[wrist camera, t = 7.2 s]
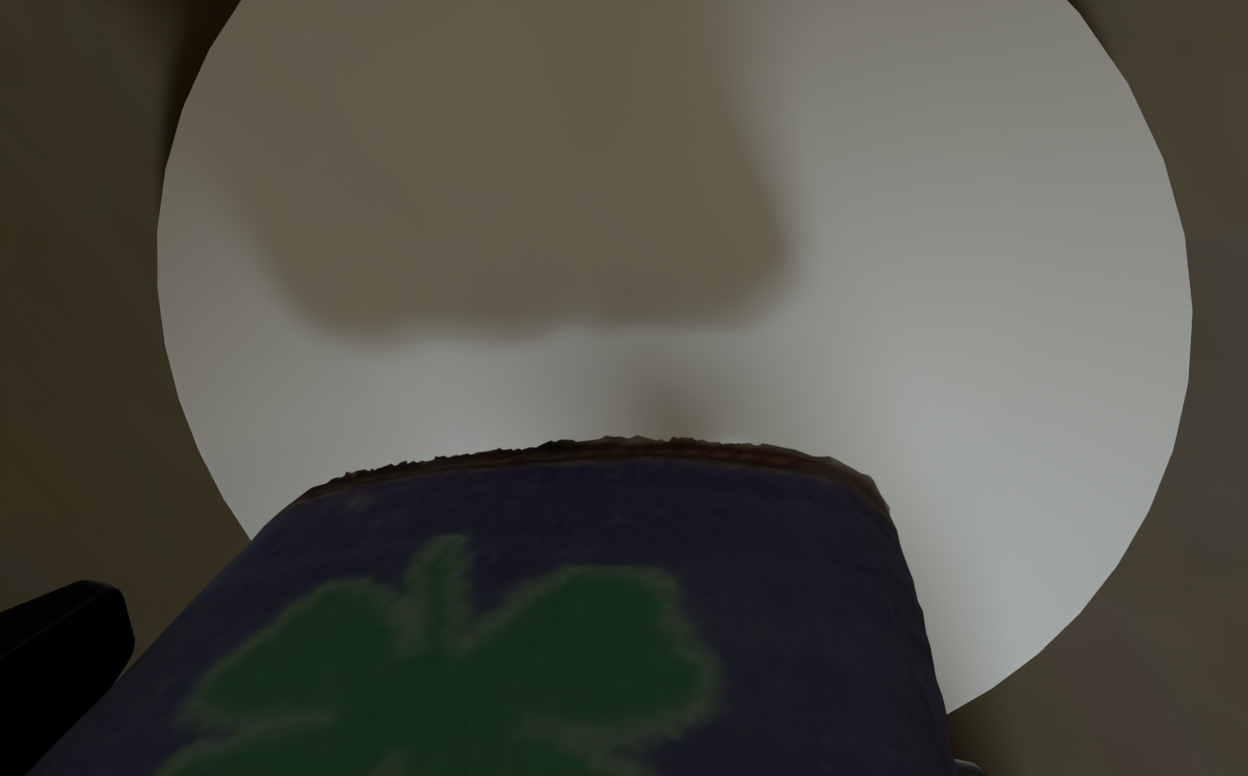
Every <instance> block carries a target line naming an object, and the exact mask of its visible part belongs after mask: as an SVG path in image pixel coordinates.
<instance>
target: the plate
mask: <svg viewBox="0 0 1248 776" xmlns="http://www.w3.org/2000/svg"><path fill="white" fill-rule="evenodd" d="M157 244H158V295H159V303H160V310H161V318H162V325H163V333H164V340H165V347H166V351H167V355H168V358H169V362H170V366H171V370H172V374H173V378H174V382H175V385H176V389H177V393H178V397H179V400H180V403H181V406H182V408H183V411H184V413H185V416H186V419H187V421H188V424H189V426H190V429H191V432H192V434H193V437H194V439H195V442H196V445H197V447H198V450H199V452H200V454H201V456H202V458H203V460H204V462H205V464H206V465H207V467H208V469H209V471H210V473H211V475H212V477H213V479H214V481H215V483H216V485H217V487H218V489H219V491H220V493H221V495H222V496H223V498H224V500H225V501H226V503H227V504H228V506H229V507H230V509H231V510H232V512H233V514H234V515H235V517H236V518H237V520H238V521H239V523H240V524H241V526H242V527H243V529H244V530H245V532H246V533H247V535H248V536H249V538H250V539H251V540H252V539H253V538H254V537H255V536H256V535H257V533H258V532H259V531H260V530H261V529H262V528H263V527H264V525H266V524H267V523H268V522H269V521H270V520H271V519H272V518H273V517H274V516H275V515H277V514H278V513H279V512H280V511H281V510H282V509H284V508H285V507H286V506H287V505H289V504H290V503H292V502H293V501H294V500H296V499H297V498H298V497H299V496H301V495H302V494H303V493H305V492H306V491H307V490H309V489H310V488H311V487H315V486H318V485H322V484H326V483H327V482H329V481H330V480H331V479H333V478H336V477H340V478H341V477H343V476H344V475H345V473H346V472H350V473H353V472H355V471H358V470H363V469H366V470H369V471H370V470H371V468H372V469H374V470H376V469H377V468H381V467H384V466H386V465H389V464H391V463H392V464H393V465H398V463H400V462H403V461H406V460H407V464H408V463H410V462H412V461H415V462H419V461H422V460H423V461H430V460H434V458H435V456H437V457H440V456H446V457H451V456H454V455H456V454H457V455H458V456H459V455H462V454H466V453H468V454H471V455H472V454H474V453H476V452H485V451H490V450H495V449H498V447H499V448H501V449H503V450H505V449H512V450H515V449H517V448H519V449H521V450H523V449H525V448H528V447H534V448H536V447H538V446H539V445H541V444H544V443H546V442H548V441H554V442H556V441H558V440H560V439H568V440H574V441H576V442H579V441H587V440H596V439H600V438H602V437H604V436H606V435H607V436H612V437H618V436H621V437H625V438H628V439H629V438H631V437H634V436H636V435H639V436H642V437H646V438H650V439H653V440H660V439H663V441H667V442H669V440H670V439H671V438H672V437H676V438H680V437H686V438H693V439H695V440H696V441H697V440H702V439H703V440H705V441H708V442H720V443H721V444H724V443H734V444H737V443H740V444H744V443H751V444H753V445H755V446H756V445H760V444H762V443H764V444H770V445H774V446H779V447H784V448H790V449H795V450H798V451H800V452H803V453H806V454H808V455H811V456H831V457H832V458H834V459H836V460H838V461H840V462H842V463H844V464H846V465H847V466H849V467H851V468H853V469H855V470H857V471H858V472H860V473H862V474H866V475H869V476H870V477H871V478H872V479H873V480H874V481H875V484H876V486H877V488H878V490H879V492H880V494H881V496H882V497H883V498H884V500H885V501H886V503H887V504H888V506H889V507H890V516H891V518H892V520H893V523H894V525H895V527H896V529H897V532H898V536H899V541H900V545H901V548H902V551H903V554H904V557H905V559H906V562H907V565H908V567H909V570H910V573H911V575H912V578H913V581H914V585H915V590H916V595H917V599H918V602H919V604H920V606H921V608H922V610H923V614H924V621H925V628H926V633H927V637H928V640H929V643H930V647H931V652H932V657H933V663H934V669H935V674H936V679H937V682H938V685H939V688H940V691H941V694H942V696H943V700H944V704H945V708H946V713H947V714H949V713H950V712H952V711H954V710H955V709H957V708H959V707H961V706H962V705H964V704H966V703H968V702H969V701H971V700H973V699H975V698H976V697H978V696H980V695H981V694H983V693H985V692H987V691H988V690H990V689H992V688H993V687H994V686H996V685H997V684H998V683H1000V682H1001V681H1002V680H1004V679H1005V678H1006V677H1008V676H1009V675H1010V674H1012V673H1013V672H1014V671H1016V670H1017V669H1018V668H1020V667H1021V666H1022V665H1024V664H1025V663H1026V662H1028V661H1029V660H1030V659H1032V658H1033V657H1034V656H1036V655H1037V654H1038V653H1039V652H1040V651H1041V650H1042V649H1043V648H1044V647H1045V646H1046V645H1047V644H1048V643H1050V642H1051V641H1052V640H1053V639H1054V638H1055V637H1056V636H1057V635H1058V634H1059V633H1060V632H1061V631H1062V630H1063V629H1064V628H1065V627H1066V626H1067V625H1068V624H1069V623H1070V622H1071V621H1072V620H1073V619H1074V618H1075V617H1076V616H1077V615H1078V614H1079V613H1080V612H1081V611H1082V610H1083V608H1084V607H1085V606H1086V605H1087V603H1088V602H1089V601H1090V599H1091V598H1092V597H1093V596H1094V594H1095V593H1096V592H1097V591H1098V589H1099V588H1100V587H1101V585H1102V584H1103V583H1104V582H1105V580H1106V579H1107V578H1108V577H1109V575H1110V574H1111V573H1112V571H1113V570H1114V569H1115V568H1116V566H1117V565H1118V563H1119V562H1120V560H1121V558H1122V556H1123V555H1124V553H1125V551H1126V550H1127V548H1128V546H1129V544H1130V543H1131V541H1132V539H1133V537H1134V536H1135V534H1136V532H1137V531H1138V529H1139V527H1140V525H1141V524H1142V522H1143V520H1144V518H1145V517H1146V515H1147V513H1148V511H1149V509H1150V507H1151V504H1152V502H1153V499H1154V497H1155V494H1156V492H1157V489H1158V487H1159V484H1160V481H1161V479H1162V476H1163V474H1164V471H1165V469H1166V466H1167V464H1168V461H1169V459H1170V456H1171V454H1172V451H1173V448H1174V443H1175V439H1176V434H1177V430H1178V425H1179V421H1180V416H1181V412H1182V408H1183V403H1184V399H1185V394H1186V390H1187V385H1188V376H1189V359H1190V342H1191V325H1192V302H1191V293H1190V283H1189V274H1188V264H1187V255H1186V245H1185V236H1184V232H1183V228H1182V225H1181V221H1180V218H1179V214H1178V210H1177V207H1176V203H1175V200H1174V196H1173V192H1172V189H1171V185H1170V182H1169V178H1168V174H1167V171H1166V167H1165V164H1164V160H1163V158H1162V155H1161V153H1160V151H1159V149H1158V147H1157V145H1156V143H1155V140H1154V138H1153V136H1152V134H1151V132H1150V130H1149V128H1148V125H1147V123H1146V121H1145V119H1144V117H1143V115H1142V113H1141V111H1140V108H1139V106H1138V104H1137V102H1136V100H1135V98H1134V96H1133V93H1132V91H1131V89H1130V87H1129V85H1128V83H1127V82H1126V80H1125V79H1124V77H1123V76H1122V74H1121V73H1120V72H1119V70H1118V69H1117V67H1116V66H1115V64H1114V63H1113V61H1112V60H1111V59H1110V57H1109V56H1108V54H1107V53H1106V51H1105V50H1104V48H1103V47H1102V45H1101V44H1100V43H1099V41H1098V40H1097V38H1096V37H1095V35H1094V34H1093V32H1092V31H1091V30H1090V28H1089V27H1088V25H1087V24H1086V22H1085V21H1084V19H1083V18H1082V16H1081V15H1080V14H1079V12H1078V11H1077V10H1076V9H1075V8H1074V7H1073V6H1072V5H1071V4H1070V3H1069V2H1068V1H1067V0H241V2H240V3H239V5H238V6H237V8H236V9H235V11H234V12H233V14H232V15H231V17H230V18H229V20H228V21H227V23H226V25H225V26H224V28H223V29H222V31H221V32H220V34H219V35H218V37H217V38H216V40H215V41H214V43H213V44H212V46H211V48H210V49H209V51H208V53H207V56H206V58H205V60H204V62H203V65H202V67H201V69H200V71H199V73H198V76H197V78H196V80H195V82H194V85H193V87H192V89H191V91H190V93H189V96H188V98H187V100H186V102H185V105H184V107H183V109H182V113H181V116H180V120H179V123H178V127H177V130H176V134H175V137H174V141H173V145H172V148H171V152H170V155H169V159H168V162H167V166H166V169H165V177H164V184H163V192H162V199H161V207H160V214H159V222H158V230H157Z"/></svg>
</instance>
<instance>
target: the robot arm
mask: <svg viewBox="0 0 1248 776" xmlns="http://www.w3.org/2000/svg"><path fill="white" fill-rule="evenodd" d="M134 647H135V634H134V630H133V626H132V622H131V619H130V615H129V611H128V607H127V603H126V599H125V596H124V593H123V591H122V590H121V589H120V588H119V587H117V586H115V585H111V584H106V583H102V582H97V581H91V580H82V581H78V582H75V583H72V584H70V585H67V586H65V587H62V588H60V589H57V590H55V591H52V592H50V593H47V594H45V595H42V596H40V597H37V598H35V599H33V600H30V601H28V602H25V603H23V604H20V605H18V606H15V607H13V608H10V609H8V610H5V611H3V612H0V776H23V775H25V774H26V773H27V772H28V771H29V770H30V769H31V768H32V767H33V766H34V765H35V764H36V763H37V762H38V761H39V760H40V759H41V758H42V757H43V756H44V755H45V754H46V753H47V752H48V751H49V750H50V749H51V748H52V747H53V746H54V745H55V744H56V743H57V742H58V741H59V740H60V739H61V738H62V737H63V736H64V735H65V734H66V733H67V732H68V731H69V729H70V728H71V727H72V726H73V725H74V724H75V723H76V722H77V721H78V720H79V719H80V718H81V717H82V716H83V715H84V714H85V713H86V712H87V711H88V710H89V709H90V708H91V707H92V706H93V705H94V704H95V703H96V702H97V701H98V700H99V699H100V698H101V697H102V696H103V695H104V694H105V693H106V692H107V691H108V690H109V689H110V688H111V687H112V685H113V684H114V682H115V681H116V679H117V678H118V677H119V675H120V674H121V672H122V671H123V669H124V668H125V666H126V665H127V663H128V661H129V660H130V658H131V655H132V653H133V650H134ZM955 763H956V767H957V770H958V774H959V776H987V775H986V774H985V772H984V771H983V770H982V769H981V768H980V767H979V766H977V765H976V764H974V763H971V762H967V761H962V760H958V759H955Z"/></svg>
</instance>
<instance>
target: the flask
mask: <svg viewBox="0 0 1248 776" xmlns="http://www.w3.org/2000/svg"><path fill="white" fill-rule="evenodd" d="M23 776H959V774H958V770H957V767H956V763H955V759H954V755H953V752H952V748H951V744H950V739H949V727H948V717H947V713H946V708H945V704H944V700H943V696H942V694H941V691H940V688H939V685H938V682H937V679H936V674H935V669H934V663H933V657H932V652H931V647H930V643H929V640H928V637H927V633H926V628H925V621H924V614H923V610H922V608H921V606H920V604H919V602H918V599H917V595H916V590H915V585H914V581H913V578H912V575H911V573H910V570H909V567H908V565H907V562H906V559H905V557H904V554H903V551H902V548H901V545H900V541H899V536H898V532H897V529H896V527H895V525H894V523H893V520H892V518H891V516H890V507H889V506H888V504H887V503H886V501H885V500H884V498H883V497H882V496H881V494H880V492H879V490H878V488H877V486H876V484H875V481H874V480H873V479H872V478H871V477H870V476H869V475H866V474H862V473H860V472H858V471H857V470H855V469H853V468H851V467H849V466H847V465H846V464H844V463H842V462H840V461H838V460H836V459H834V458H832V457H831V456H811V455H808V454H806V453H803V452H800V451H798V450H795V449H790V448H784V447H779V446H774V445H770V444H764V443H762V444H760V445H756V446H755V445H753V444H751V443H744V444H740V443H737V444H734V443H724V444H721V443H720V442H708V441H705V440H703V439H702V440H697V441H696V440H695V439H693V438H686V437H680V438H676V437H672V438H671V439H670V440H669V442H667V441H663V439H660V440H653V439H650V438H646V437H642V436H639V435H636V436H634V437H631V438H629V439H628V438H625V437H621V436H618V437H612V436H607V435H606V436H604V437H602V438H600V439H596V440H587V441H579V442H576V441H574V440H568V439H560V440H558V441H556V442H554V441H548V442H546V443H544V444H541V445H539V446H538V447H536V448H534V447H528V448H525V449H523V450H521V449H519V448H517V449H515V450H512V449H505V450H503V449H501V448H499V447H498V449H495V450H490V451H485V452H476V453H474V454H472V455H471V454H468V453H466V454H462V455H459V456H458V455H457V454H456V455H454V456H451V457H446V456H440V457H437V456H435V458H434V460H430V461H423V460H422V461H419V462H415V461H412V462H410V463H408V464H407V460H406V461H403V462H400V463H398V465H393V464H392V463H391V464H389V465H386V466H384V467H381V468H377V469H376V470H374V469H372V468H371V470H370V471H369V470H366V469H363V470H358V471H355V472H353V473H350V472H346V473H345V475H344V476H343V477H341V478H340V477H336V478H333V479H331V480H330V481H329V482H327V483H326V484H322V485H318V486H315V487H311V488H310V489H309V490H307V491H306V492H305V493H303V494H302V495H301V496H299V497H298V498H297V499H296V500H294V501H293V502H292V503H290V504H289V505H287V506H286V507H285V508H284V509H282V510H281V511H280V512H279V513H278V514H277V515H275V516H274V517H273V518H272V519H271V520H270V521H269V522H268V523H267V524H266V525H264V527H263V528H262V529H261V530H260V531H259V532H258V533H257V535H256V536H255V537H254V538H253V539H252V540H251V542H250V543H249V544H248V545H247V546H246V548H245V549H244V550H243V551H242V552H241V553H240V554H239V555H237V556H236V557H235V558H234V559H233V560H232V561H231V562H230V563H229V564H228V565H226V566H225V567H224V568H223V569H222V570H221V571H220V573H219V574H218V575H217V576H216V577H215V578H214V579H213V580H212V581H211V582H210V583H209V584H208V585H207V586H206V587H205V588H204V589H203V590H202V591H201V592H200V593H199V594H198V595H197V596H196V597H195V598H194V599H193V600H192V601H191V602H190V604H189V605H188V606H187V607H186V608H185V609H184V610H183V611H182V612H181V613H180V614H179V615H178V616H177V617H176V618H175V619H174V620H173V622H172V623H171V624H170V625H169V626H168V627H167V628H166V629H165V630H164V632H163V633H162V634H161V635H160V636H159V637H158V639H157V640H156V641H155V642H154V643H153V644H152V645H151V646H150V647H149V648H148V649H147V650H146V651H145V652H144V653H143V655H142V656H141V657H140V658H139V659H138V660H137V661H136V662H135V663H134V664H133V665H132V666H131V667H130V668H129V669H128V670H127V671H126V673H125V674H124V675H123V676H122V677H121V678H120V679H119V680H118V681H117V682H116V683H115V684H114V685H113V686H112V687H111V688H110V689H109V690H108V691H107V692H106V693H105V694H104V695H103V696H102V697H101V698H100V699H99V700H98V701H97V702H96V703H95V704H94V705H93V706H92V707H91V708H90V709H89V710H88V711H87V712H86V713H85V714H84V715H83V716H82V717H81V718H80V719H79V720H78V721H77V722H76V723H75V724H74V725H73V726H72V727H71V728H70V729H69V731H68V732H67V733H66V734H65V735H64V736H63V737H62V738H61V739H60V740H59V741H58V742H57V743H56V744H55V745H54V746H53V747H52V748H51V749H50V750H49V751H48V752H47V753H46V754H45V755H44V756H43V757H42V758H41V759H40V760H39V761H38V762H37V763H36V764H35V765H34V766H33V767H32V768H31V769H30V770H29V771H28V772H27V773H26V774H25V775H23Z"/></svg>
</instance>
